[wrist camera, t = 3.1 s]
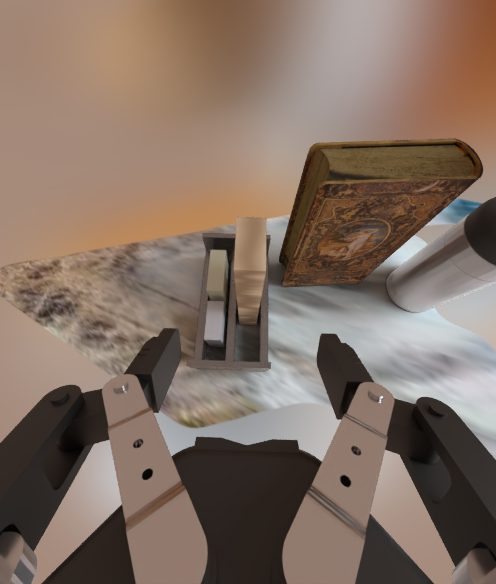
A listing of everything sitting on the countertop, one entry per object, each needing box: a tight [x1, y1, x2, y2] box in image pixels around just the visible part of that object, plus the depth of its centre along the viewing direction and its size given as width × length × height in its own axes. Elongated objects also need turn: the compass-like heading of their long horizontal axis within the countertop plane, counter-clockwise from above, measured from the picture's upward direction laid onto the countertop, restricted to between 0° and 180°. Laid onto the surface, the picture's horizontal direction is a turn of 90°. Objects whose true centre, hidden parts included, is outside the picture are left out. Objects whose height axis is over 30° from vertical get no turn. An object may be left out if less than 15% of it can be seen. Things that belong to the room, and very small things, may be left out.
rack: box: [187, 233, 271, 371], centre depth 39 cm, size 12×22×8 cm, turn 178°
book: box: [279, 139, 483, 287], centre depth 34 cm, size 16×6×25 cm, turn 93°
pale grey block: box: [204, 301, 227, 347], centre depth 38 cm, size 2×6×7 cm, turn 178°
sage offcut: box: [206, 250, 230, 308], centre depth 40 cm, size 2×7×9 cm, turn 178°
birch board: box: [234, 217, 266, 325], centre depth 33 cm, size 3×6×22 cm, turn 178°
